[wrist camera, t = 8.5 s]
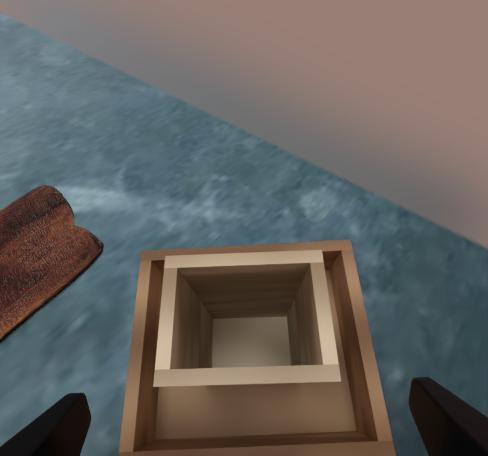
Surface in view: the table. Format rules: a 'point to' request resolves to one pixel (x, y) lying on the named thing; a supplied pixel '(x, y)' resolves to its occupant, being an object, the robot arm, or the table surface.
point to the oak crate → (258, 395)
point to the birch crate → (245, 320)
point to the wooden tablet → (39, 253)
